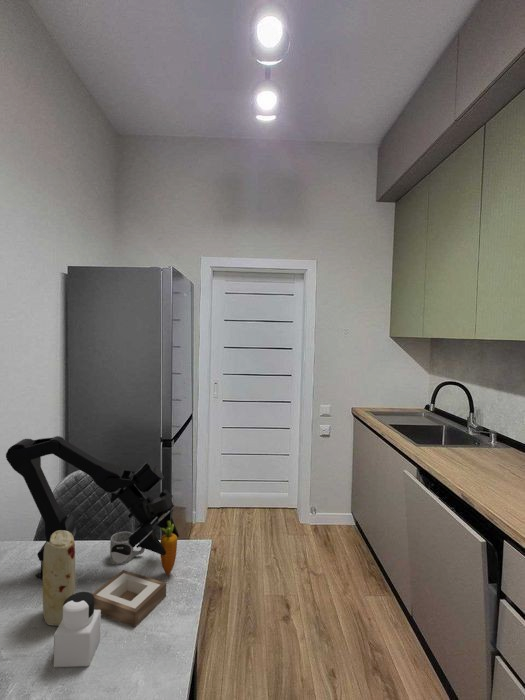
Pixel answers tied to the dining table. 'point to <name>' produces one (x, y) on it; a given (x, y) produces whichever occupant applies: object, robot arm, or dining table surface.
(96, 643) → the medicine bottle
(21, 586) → the dining table surface
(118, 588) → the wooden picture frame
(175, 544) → the carrot
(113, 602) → the walnut box
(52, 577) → the food model
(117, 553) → the mug
